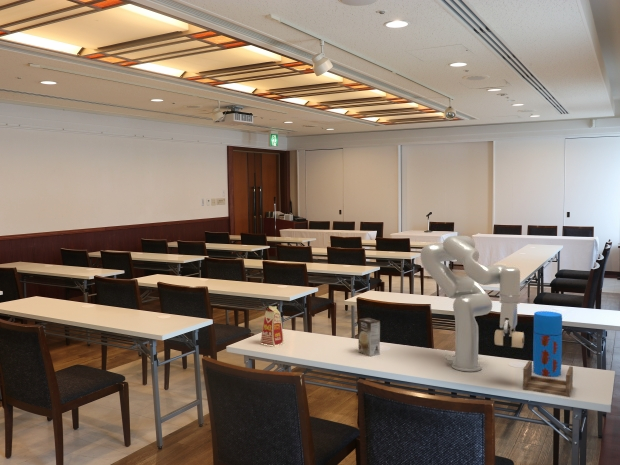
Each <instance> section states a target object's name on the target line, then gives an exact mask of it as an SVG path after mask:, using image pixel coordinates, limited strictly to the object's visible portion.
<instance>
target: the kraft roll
mask: <svg viewBox="0 0 620 465" xmlns="http://www.w3.org/2000/svg"><path fill="white" fill-rule="evenodd" d="M503 332H504V329H496V330H495V332H494V340H493V341H494V345H496V346H503ZM511 336H512V346H511V347H510V348H520V349H523V348H524V344H525V333H524V331H522V332H521V331H516V330H515V331H511ZM503 347H504V346H503Z"/></svg>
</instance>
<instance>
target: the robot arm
mask: <svg viewBox="0 0 620 465" xmlns="http://www.w3.org/2000/svg"><path fill="white" fill-rule="evenodd" d="M475 243H476V242H475V241H474V239H473V238H472V237H470V236H469V235H452V236H448V237H446V238H445V239H444V240H443V241H442V242H440V243H438V242H437V243H429V244H426V245H425V246H423V247H422V248H421V250H420V262H421V265H422V267H423V268H424V270H425V271H426V273H428V275H430V277H431V278H432V279H433V280H434V281H435V283H436V284H437V285H438V287H439V288H440V289H441V290H442V292H443V293H444V294H445V296H446V297H448V298H449V299H454V301H453V304H452V308H453V313H454V320H455V321H454V323H455V334H454V335H455V337H454V338H455V342H454V344H455V345H454V348H455V349H454V352H455V354H454V355H447V354H446V355H445V360H446V362H452V363H451V368H452V369H454V370H457V371H459V372H460V371H461V372H468V373H469V372H478V371H481V370H482V369H483V366H482V364H481V363H479V325H478V324H479V323H478V322H477V321H476V318H475V317H478V316H484V315H488V314H489V313H490V312H491V311H492V310H493V302H492V299H491V297H490V295H489V294H488V293H487V292H486V291H485V290H484V289H483V287H482V286H481V285H483V286H488V285H498V284H499V303H500V304H501V306H500V314H499V315H500V317H499V328H500V329H503V330H504V332H503V347H509V348H512V347H511V346H512V336H511V331H515V332H516V326H517V325H518V305H519V304H520V303H521V271H520V269H519V268H517V267H513V266H512V267H511V266H506V265H502V264H491V265H483V264H480V263H479V262H478V260H479V258H480V252H479V250H478V249H476V247H475V246H476V244H475ZM455 260H456V261H458V262H459V263H460V264H461V265H463V270H464V272H465V274H466V275H463V276H462V275H461V276H460V275H459V276H458V275H456V274H455V273H454V272H453V271H452V270H451V269H450V268H449V267H448V266H447V265H446V264H444V263H443V262H450V261H451V262H452V261H455Z"/></svg>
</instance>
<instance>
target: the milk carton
mask: <svg viewBox="0 0 620 465" xmlns="http://www.w3.org/2000/svg"><path fill="white" fill-rule="evenodd" d="M277 307H278V306H276V305H275V306H271V305H268V308H267V309H266V310H265V313H264V319H263V325H262V329H261V338H260V343H263V344H267V345H273V346H275V345H278V344H281V343H283V342H284V330H283V322H282V317H281V312H280V311H279V310H278V309H277ZM283 344H284V343H283ZM281 345H282V344H281Z"/></svg>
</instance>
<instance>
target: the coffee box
mask: <svg viewBox="0 0 620 465" xmlns="http://www.w3.org/2000/svg"><path fill="white" fill-rule="evenodd" d="M380 343H381V321H380V320H377V319H374V318H371V317H365V318H364V317H363V318H359V319H358V343H357V344H358V349H357V350H358V353H360V352H361V353H360V354H362V353H363V355H365V354H366V356H368V357H374V356H378V354H379V355H380V354H381V352H380V349H381V346H380V345H381V344H380ZM373 355H374V356H373Z"/></svg>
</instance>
